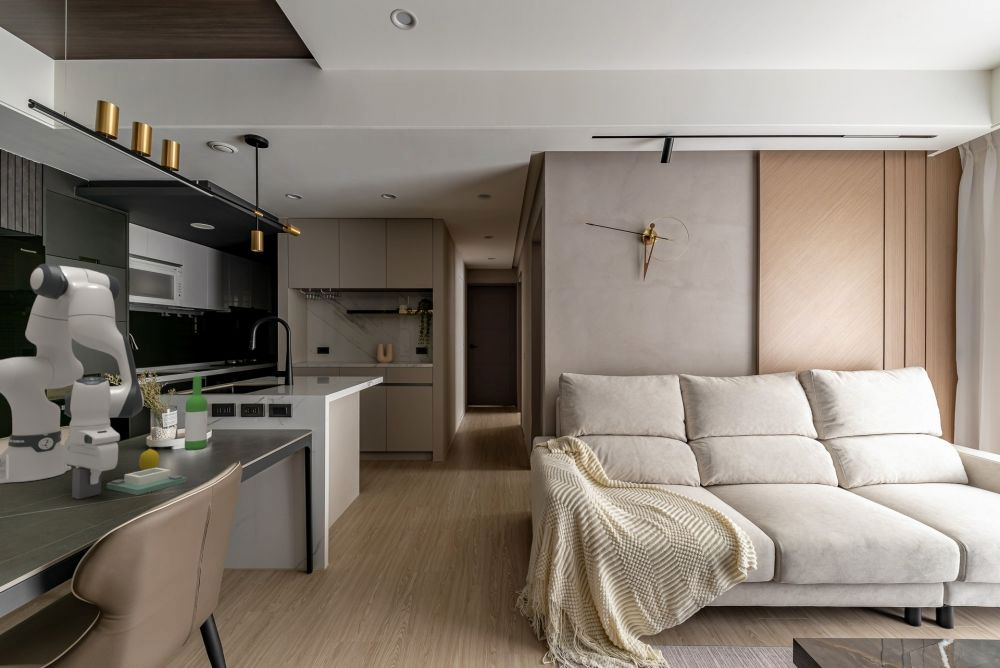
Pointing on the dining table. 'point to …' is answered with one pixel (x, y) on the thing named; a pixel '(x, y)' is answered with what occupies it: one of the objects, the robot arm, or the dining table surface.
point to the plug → (84, 484)
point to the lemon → (149, 459)
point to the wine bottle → (196, 418)
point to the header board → (146, 481)
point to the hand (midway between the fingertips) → (88, 482)
